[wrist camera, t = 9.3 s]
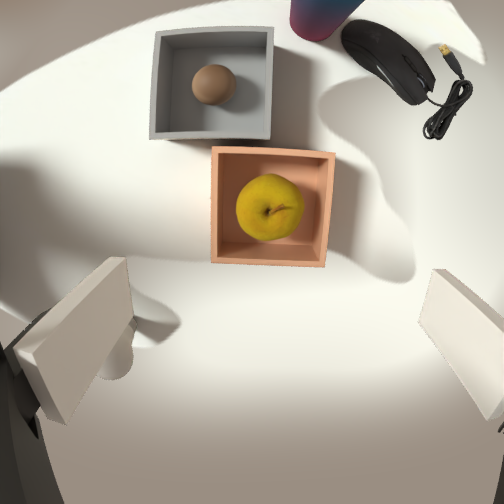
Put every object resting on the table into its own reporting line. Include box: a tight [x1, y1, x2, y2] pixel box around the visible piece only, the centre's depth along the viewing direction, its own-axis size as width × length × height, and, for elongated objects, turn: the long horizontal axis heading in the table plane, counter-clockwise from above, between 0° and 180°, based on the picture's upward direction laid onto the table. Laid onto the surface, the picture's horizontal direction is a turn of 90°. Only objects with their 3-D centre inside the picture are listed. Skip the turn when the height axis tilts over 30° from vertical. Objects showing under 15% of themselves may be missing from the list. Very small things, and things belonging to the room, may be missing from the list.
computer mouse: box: [341, 19, 473, 140], centre depth 26 cm, size 12×17×4 cm
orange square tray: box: [211, 146, 335, 267], centre depth 31 cm, size 11×11×6 cm
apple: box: [236, 173, 305, 241], centre depth 29 cm, size 6×6×8 cm
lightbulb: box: [96, 318, 137, 380], centre depth 34 cm, size 6×6×11 cm
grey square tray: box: [149, 26, 274, 140], centre depth 27 cm, size 11×11×6 cm
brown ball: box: [192, 64, 236, 106], centre depth 27 cm, size 4×4×4 cm
